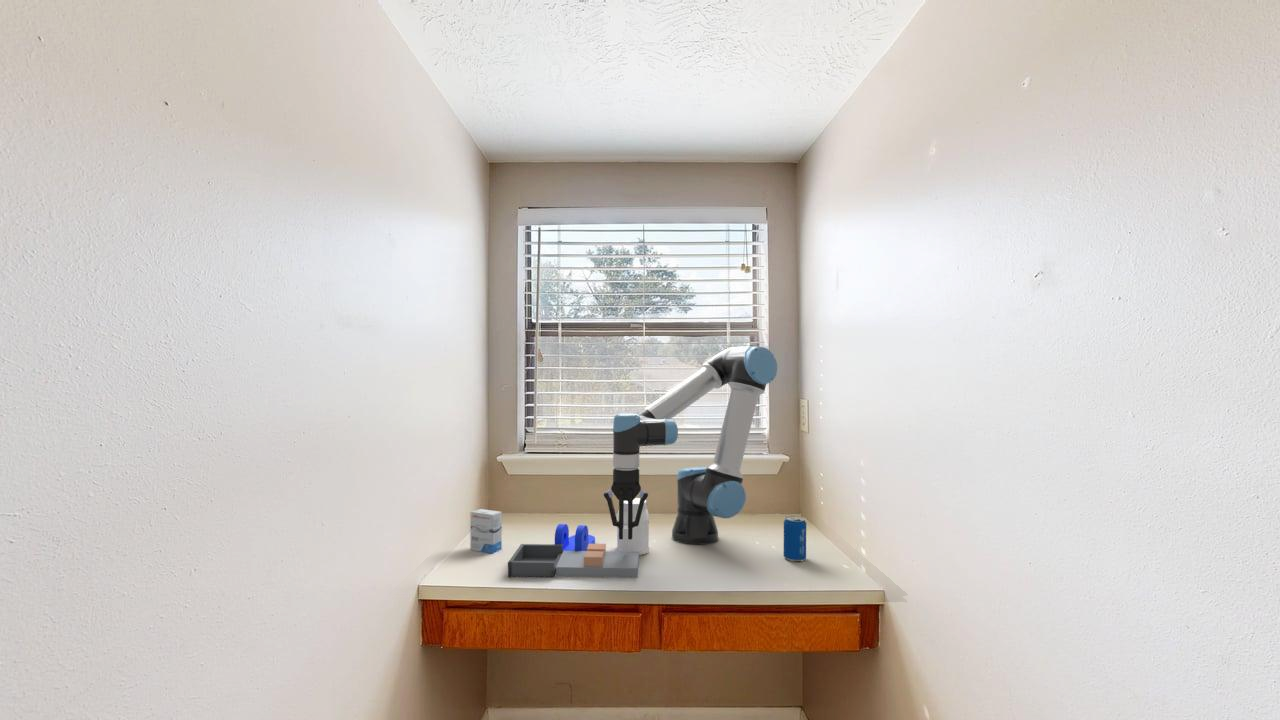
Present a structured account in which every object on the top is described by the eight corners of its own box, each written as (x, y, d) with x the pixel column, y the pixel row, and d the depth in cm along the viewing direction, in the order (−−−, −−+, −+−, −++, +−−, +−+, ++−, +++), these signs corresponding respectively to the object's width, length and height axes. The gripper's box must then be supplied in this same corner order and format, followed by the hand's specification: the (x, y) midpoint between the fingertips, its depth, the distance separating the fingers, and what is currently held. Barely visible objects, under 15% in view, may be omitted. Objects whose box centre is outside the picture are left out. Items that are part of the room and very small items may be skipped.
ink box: (502, 549, 186) (502, 511, 186) (492, 554, 182) (492, 514, 182) (480, 545, 190) (480, 508, 190) (469, 550, 185) (469, 511, 185)
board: (638, 560, 177) (638, 551, 177) (637, 577, 163) (637, 568, 163) (563, 559, 177) (563, 550, 177) (555, 576, 163) (555, 567, 163)
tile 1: (605, 552, 176) (605, 543, 176) (604, 558, 171) (604, 549, 171) (588, 552, 176) (588, 543, 176) (586, 557, 171) (586, 548, 171)
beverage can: (793, 564, 174) (794, 522, 174) (778, 557, 180) (779, 517, 180) (810, 560, 177) (811, 519, 177) (795, 554, 183) (795, 514, 183)
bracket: (581, 559, 178) (581, 529, 178) (554, 557, 179) (554, 527, 179) (598, 541, 195) (598, 513, 195) (573, 540, 197) (573, 512, 197)
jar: (648, 555, 181) (649, 505, 181) (616, 555, 181) (617, 505, 181) (648, 543, 193) (648, 496, 193) (617, 543, 193) (618, 496, 193)
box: (562, 558, 178) (563, 544, 178) (554, 577, 162) (554, 562, 162) (521, 557, 179) (521, 544, 179) (507, 577, 163) (508, 562, 163)
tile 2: (603, 560, 169) (604, 551, 169) (602, 566, 164) (602, 557, 164) (586, 560, 169) (586, 551, 169) (584, 566, 164) (584, 557, 164)
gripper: (649, 465, 177) (648, 546, 177) (604, 465, 177) (603, 546, 177) (648, 470, 170) (648, 555, 170) (602, 470, 170) (601, 554, 170)
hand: (625, 550), depth 173 cm, fingers closed
